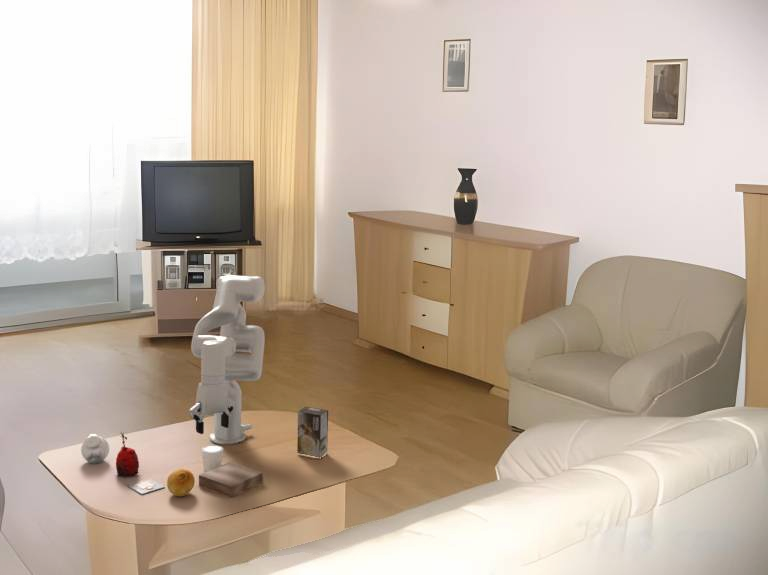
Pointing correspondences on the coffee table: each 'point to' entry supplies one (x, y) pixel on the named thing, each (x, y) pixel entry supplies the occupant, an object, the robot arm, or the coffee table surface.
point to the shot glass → (212, 457)
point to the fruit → (180, 482)
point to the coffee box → (312, 431)
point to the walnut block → (230, 479)
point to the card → (146, 486)
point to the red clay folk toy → (127, 461)
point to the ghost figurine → (95, 448)
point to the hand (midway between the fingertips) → (212, 429)
